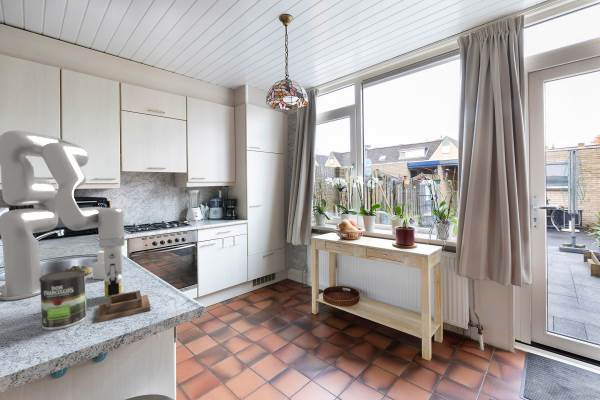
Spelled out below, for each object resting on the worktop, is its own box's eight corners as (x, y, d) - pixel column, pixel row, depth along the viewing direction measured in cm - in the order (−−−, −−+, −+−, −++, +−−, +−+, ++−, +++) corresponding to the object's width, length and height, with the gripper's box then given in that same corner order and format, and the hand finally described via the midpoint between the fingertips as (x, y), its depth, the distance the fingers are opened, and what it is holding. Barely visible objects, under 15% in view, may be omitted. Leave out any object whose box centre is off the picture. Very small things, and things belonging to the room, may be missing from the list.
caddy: (96, 322, 82) (96, 309, 82) (99, 307, 92) (98, 296, 92) (150, 310, 89) (150, 299, 89) (147, 298, 99) (147, 287, 99)
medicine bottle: (106, 274, 127) (105, 248, 127) (120, 274, 126) (119, 248, 126) (92, 279, 120) (91, 251, 120) (107, 279, 119) (106, 252, 119)
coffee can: (81, 325, 80) (79, 277, 79) (34, 333, 76) (32, 282, 75) (91, 311, 89) (89, 267, 89) (50, 317, 85) (48, 271, 84)
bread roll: (55, 279, 121) (56, 267, 121) (73, 274, 132) (74, 263, 132) (82, 279, 121) (83, 267, 122) (98, 274, 132) (99, 264, 133)
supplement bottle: (120, 298, 99) (119, 272, 98) (102, 300, 97) (101, 273, 97) (124, 293, 104) (123, 268, 104) (108, 295, 102) (107, 269, 102)
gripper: (124, 245, 95) (126, 297, 95) (123, 237, 109) (125, 283, 110) (97, 247, 91) (99, 302, 91) (100, 239, 105) (102, 286, 106)
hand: (113, 291), depth 101 cm, fingers closed on supplement bottle, 5 cm apart
